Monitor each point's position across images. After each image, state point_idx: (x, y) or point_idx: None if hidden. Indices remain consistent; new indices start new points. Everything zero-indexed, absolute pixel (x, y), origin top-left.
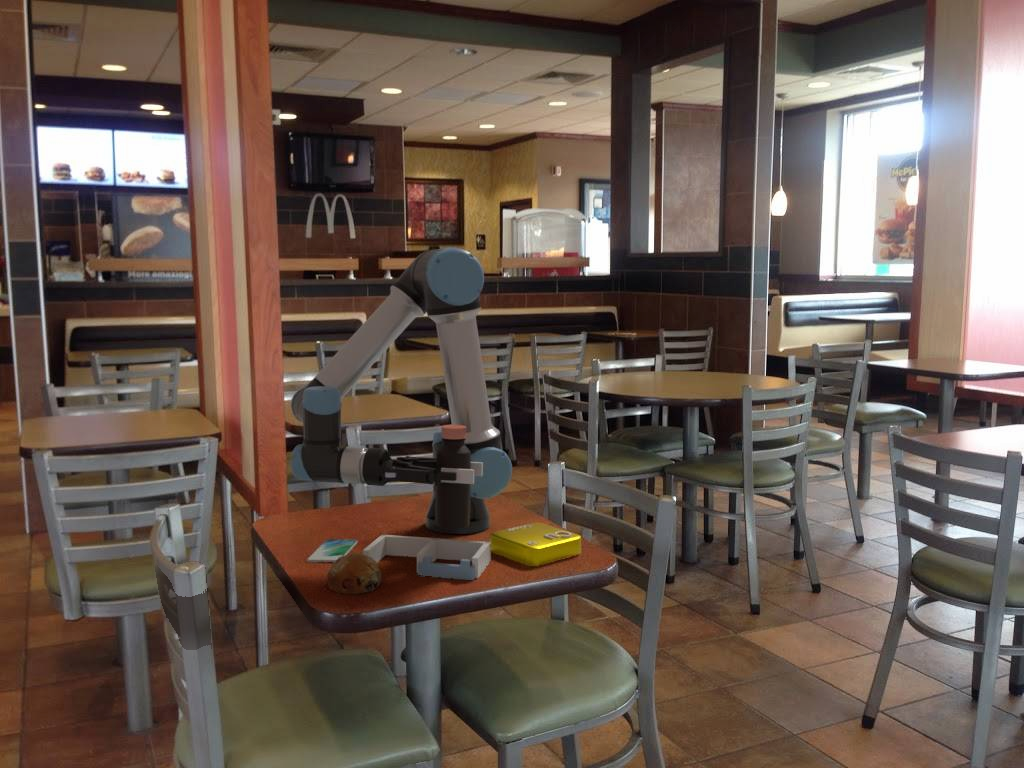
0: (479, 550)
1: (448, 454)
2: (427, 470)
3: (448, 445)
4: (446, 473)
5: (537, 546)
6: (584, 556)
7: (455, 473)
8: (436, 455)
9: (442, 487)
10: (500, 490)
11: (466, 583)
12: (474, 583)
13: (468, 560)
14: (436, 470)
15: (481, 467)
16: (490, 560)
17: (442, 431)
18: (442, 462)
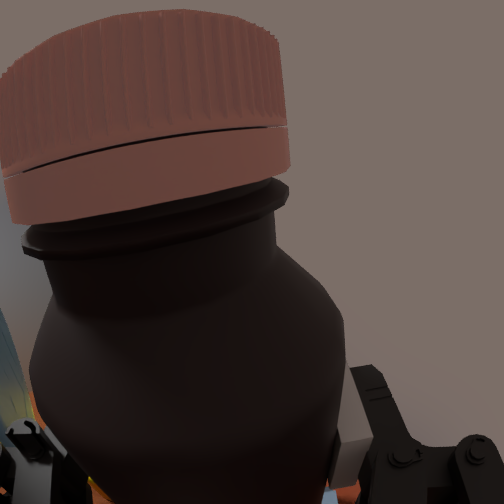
0: None
1: (339, 313)
2: (474, 485)
3: (274, 252)
4: (394, 401)
5: None
6: None
7: (364, 366)
8: (213, 487)
9: (321, 502)
10: (29, 398)
11: (352, 501)
12: (345, 488)
13: (329, 492)
14: (421, 448)
15: None
16: None
17: (205, 75)
18: (334, 418)
